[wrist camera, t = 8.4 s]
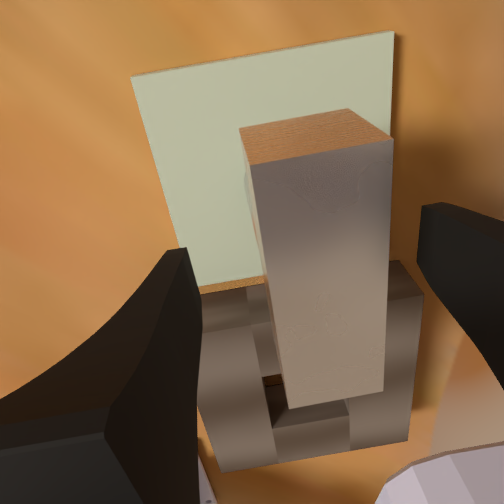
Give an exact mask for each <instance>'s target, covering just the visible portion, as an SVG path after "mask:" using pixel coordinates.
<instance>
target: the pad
mask: <svg viewBox="0 0 504 504" xmlns="http://www.w3.org/2000/svg"><path fill="white" fill-rule="evenodd" d="M393 49H394V31H389V30H387V31H382V32H376V33H370V34H365V35H359V36H353V37H348V38H342V39H336V40H331V41H325V42H319V43H314V44H308V45H302V46H296V47H291V48H285V49H279V50H274V51H268V52H262V53H257V54H251V55H245V56H240V57H234V58H228V59H223V60H217V61H211V62H206V63H200V64H194V65H189V66H183V67H177V68H172V69H166V70H160V71H155V72H149V73H143V74H137V75H133V76H131V77H130V79H131V82H132V86H133V89H134V93H135V96H136V99H137V103H138V106H139V110H140V113H141V117H142V120H143V123H144V127H145V130H146V134H147V137H148V140H149V144H150V147H151V151H152V154H153V158H154V161H155V164H156V168H157V171H158V175H159V178H160V181H161V185H162V188H163V192H164V195H165V199H166V202H167V205H168V209H169V212H170V216H171V219H172V222H173V226H174V229H175V233H176V236H177V240H178V243H179V246H180V248H184V247H187V250H188V253H189V257H190V260H191V264H192V268H193V271H194V275H195V278H196V282H197V285H198V286H203V285H209V284H215V283H221V282H226V281H232V280H238V279H243V278H249V277H255V276H261V275H263V271H262V265H261V259H260V253H259V249H258V244H257V240H256V236H255V231H254V227H253V223H252V219H251V214H250V210H249V206H248V201H247V197H246V193H245V188H244V176H245V172H246V170H245V164H244V158H243V152H242V146H241V140H240V134H239V128H242V127H247V126H253V125H258V124H263V123H269V122H274V121H280V120H285V119H291V118H296V117H302V116H307V115H313V114H318V113H323V112H329V111H334V110H340V109H345V108H349V109H350V110H352V111H353V112H355V113H356V114H358V115H359V116H361V117H362V118H364V119H365V120H367V121H368V122H370V123H371V124H373V125H374V126H376V127H377V128H379V129H380V130H382V131H383V132H385V133H386V134H388V135H389V136H390V121H391V97H392V73H393Z"/></svg>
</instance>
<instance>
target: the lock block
mask: <svg viewBox="0 0 504 504" xmlns="http://www.w3.org/2000/svg"><path fill="white" fill-rule="evenodd" d="M200 296H201V301H202V320H203V331H202V343H201V355H200V366H199V377H198V389H197V406H198V409H199V412H200V414H201V417H202V420H203V423H204V426H205V429H206V431H207V434H208V437H209V440H210V443H211V445H212V448H213V451H214V454H215V457H216V459H217V462H218V465H219V468H220V471H221V473H227V472H232V471H238V470H244V469H250V468H255V467H261V466H267V465H273V464H278V463H284V462H290V461H296V460H301V459H307V458H313V457H318V456H324V455H330V454H336V453H341V452H347V451H353V450H359V449H364V448H370V447H376V446H382V445H387V444H393V443H399V442H404V441H408V433H409V425H410V416H411V407H412V398H413V390H414V381H415V372H416V363H417V355H418V346H419V337H420V328H421V320H422V311H423V302H424V294H423V292H422V291H421V290H420V288H419V287H418V286H417V284H416V283H415V282H414V280H413V279H412V277H411V276H410V275H409V273H408V272H407V271H406V269H405V268H404V267H403V265H402V264H401V263H400V261H399V260H396V261H390V262H389V266H388V290H387V314H386V337H385V361H384V385H383V391H382V392H377V393H371V394H366V395H361V396H356V397H350V398H345V399H340V400H335V401H329V402H324V403H319V404H314V405H308V406H303V407H298V408H293V409H289V407H288V402H287V398H286V393H285V388H284V384H280V385H274V386H269V387H266V386H265V381H264V376H270V375H276V374H281V370H280V365H279V360H278V356H277V351H276V346H275V342H274V336H273V330H272V324H271V318H270V312H269V307H268V301H267V295H266V289H265V283H264V284H259V285H253V286H247V287H242V288H236V289H230V290H224V291H219V292H213V293H207V294H202V295H200Z"/></svg>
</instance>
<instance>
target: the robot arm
mask: <svg viewBox="0 0 504 504" xmlns="http://www.w3.org/2000/svg"><path fill="white" fill-rule="evenodd" d="M417 264H418V265H419V267H420V269H421V271H422V273H423V275H424V277H425V278H426V280H427V282H428V284H429V285H430V287H431V288H432V290H433V291H434V292H435V294H436V295H437V296H438V298H439V299H440V300H441V302H442V303H443V304H444V306H445V307H446V308H447V309H448V311H449V312H450V313H451V314H452V316H453V317H454V318H455V320H456V321H457V322H458V323H459V325H460V326H461V327H462V329H463V330H464V331H465V332H466V334H467V335H468V336H469V337H470V339H471V340H472V341H473V342H474V344H475V345H476V347H477V348H478V350H479V351H480V352H481V354H482V355H483V357H484V359H485V360H486V362H487V363H488V365H489V367H490V368H491V370H492V372H493V373H494V375H495V376H496V378H497V380H498V381H499V383H500V385H501V386H502V388H503V390H504V222H503V221H500V220H497V219H494V218H491V217H488V216H485V215H482V214H480V213H477V212H474V211H471V210H468V209H465V208H462V207H458V206H455V205H452V204H448V203H443V202H440V203H435V204H429V205H423V206H422V209H421V220H420V230H419V241H418V251H417ZM202 331H203V320H202V301H201V296H200V292H199V289H198V285H197V282H196V278H195V275H194V271H193V268H192V264H191V260H190V257H189V253H188V250H187V247H184V248H178V249H172V250H167V251H166V252H165V254H164V255H163V256H162V257H161V259H160V260H159V262H158V263H157V264H156V266H155V267H154V268H153V270H152V271H151V272H150V274H149V275H148V276H147V277H146V279H145V280H144V281H143V283H142V284H141V285H140V286H139V288H138V289H137V290H136V291H135V292H134V293H133V295H132V296H131V297H130V298H129V299H128V300H127V301H126V303H125V304H124V305H123V306H122V307H121V308H120V309H119V310H118V311H117V313H116V314H115V315H114V316H113V317H112V318H111V319H110V320H109V321H108V322H106V323H105V324H104V325H103V326H102V327H101V328H100V329H99V330H98V331H97V332H96V333H95V334H93V335H92V336H91V337H90V338H89V339H87V340H86V341H85V342H84V343H82V344H81V345H80V346H79V347H77V348H76V349H75V350H74V351H72V352H71V353H70V354H69V355H67V356H66V357H65V358H63V359H62V360H61V361H59V362H58V363H57V364H55V365H54V366H52V367H51V368H49V369H48V370H47V371H45V372H44V373H42V374H41V375H39V376H38V377H36V378H35V379H33V380H31V381H30V382H28V383H27V384H25V385H24V386H22V387H20V388H19V389H17V390H15V391H14V392H12V393H10V394H8V395H7V396H5V397H3V398H2V399H0V504H217V500H216V498H215V495H214V493H213V490H212V488H211V485H210V483H209V480H208V478H207V475H206V472H205V470H204V467H203V465H202V462H201V460H200V457H199V455H198V439H197V389H198V377H199V366H200V355H201V343H202ZM375 504H504V441H503V442H497V443H491V444H486V445H480V446H474V447H468V448H463V449H457V450H452V451H445V452H442V453H439V454H435V455H432V456H429V457H426V458H423V459H420V460H416V461H413V462H411V463H410V464H408V465H407V466H405V467H404V468H402V469H401V470H399V471H398V472H396V473H395V474H393V475H392V476H390V477H389V478H388V479H387V481H386V483H385V485H384V486H383V488H382V490H381V492H380V494H379V496H378V498H377V500H376V502H375Z"/></svg>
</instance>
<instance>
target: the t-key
mask: <svg viewBox="0 0 504 504" xmlns="http://www.w3.org/2000/svg"><path fill="white" fill-rule="evenodd" d="M239 134H240V140H241V146H242V152H243V158H244V164H245V170H246V172H245V176H244V188H245V193H246V197H247V201H248V206H249V210H250V214H251V219H252V223H253V227H254V231H255V236H256V240H257V244H258V249H259V253H260V259H261V265H262V271H263V277H264V283H265V289H266V295H267V301H268V307H269V312H270V318H271V324H272V330H273V336H274V342H275V346H276V351H277V356H278V360H279V365H280V370H281V374H282V379H283V384H284V388H285V393H286V398H287V402H288V407H289V409H293V408H298V407H303V406H308V405H314V404H319V403H324V402H329V401H335V400H340V399H345V398H350V397H356V396H361V395H366V394H371V393H377V392H382V391H383V385H384V361H385V337H386V314H387V290H388V266H389V243H390V219H391V195H392V172H393V148H394V139H393V138H392V137H390V136H389V135H388V134H386V133H385V132H383V131H382V130H380V129H379V128H377V127H376V126H374V125H373V124H371V123H370V122H368V121H367V120H365V119H364V118H362V117H361V116H359V115H358V114H356V113H355V112H353V111H352V110H350V109H349V108H345V109H340V110H334V111H329V112H323V113H318V114H313V115H307V116H302V117H296V118H291V119H285V120H280V121H274V122H269V123H263V124H258V125H253V126H247V127H242V128H239Z"/></svg>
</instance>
